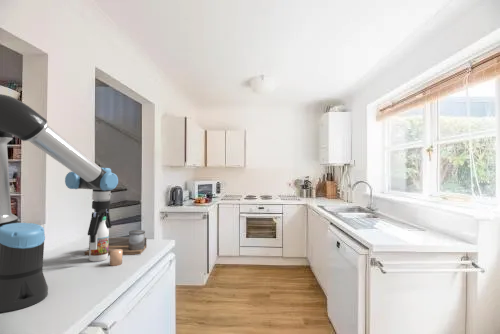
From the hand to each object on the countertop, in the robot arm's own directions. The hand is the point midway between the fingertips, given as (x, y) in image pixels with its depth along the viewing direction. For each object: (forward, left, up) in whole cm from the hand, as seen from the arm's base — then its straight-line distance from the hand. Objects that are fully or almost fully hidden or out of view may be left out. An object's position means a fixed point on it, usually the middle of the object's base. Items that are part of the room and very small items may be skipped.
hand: (99, 245), depth 124 cm
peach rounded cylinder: (-7, -10, -7) cm, 14 cm away
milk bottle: (0, 0, -7) cm, 7 cm away
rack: (+13, -4, -6) cm, 15 cm away
